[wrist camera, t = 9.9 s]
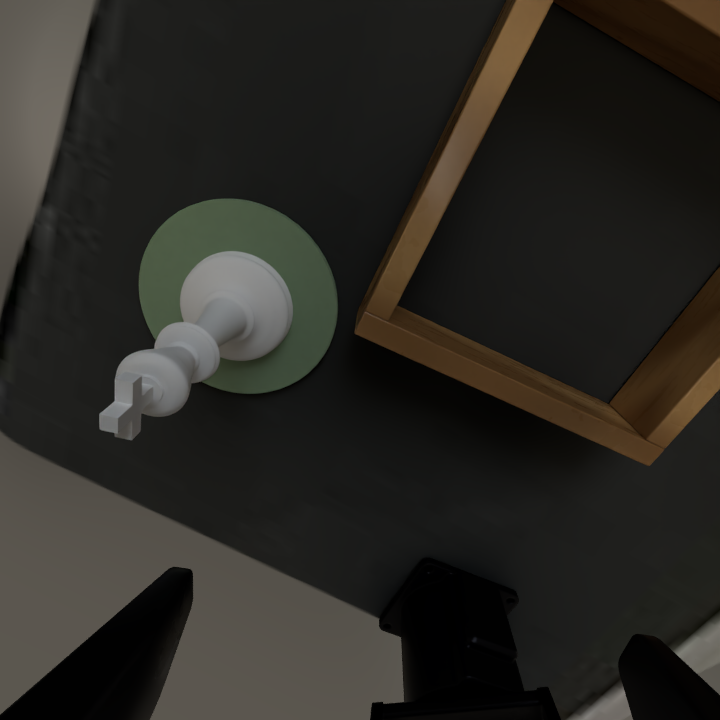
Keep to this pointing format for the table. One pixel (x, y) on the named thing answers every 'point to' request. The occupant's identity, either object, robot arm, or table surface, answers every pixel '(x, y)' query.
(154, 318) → the felt coaster
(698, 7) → the wooden frame
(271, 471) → the table surface
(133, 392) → the chess piece
